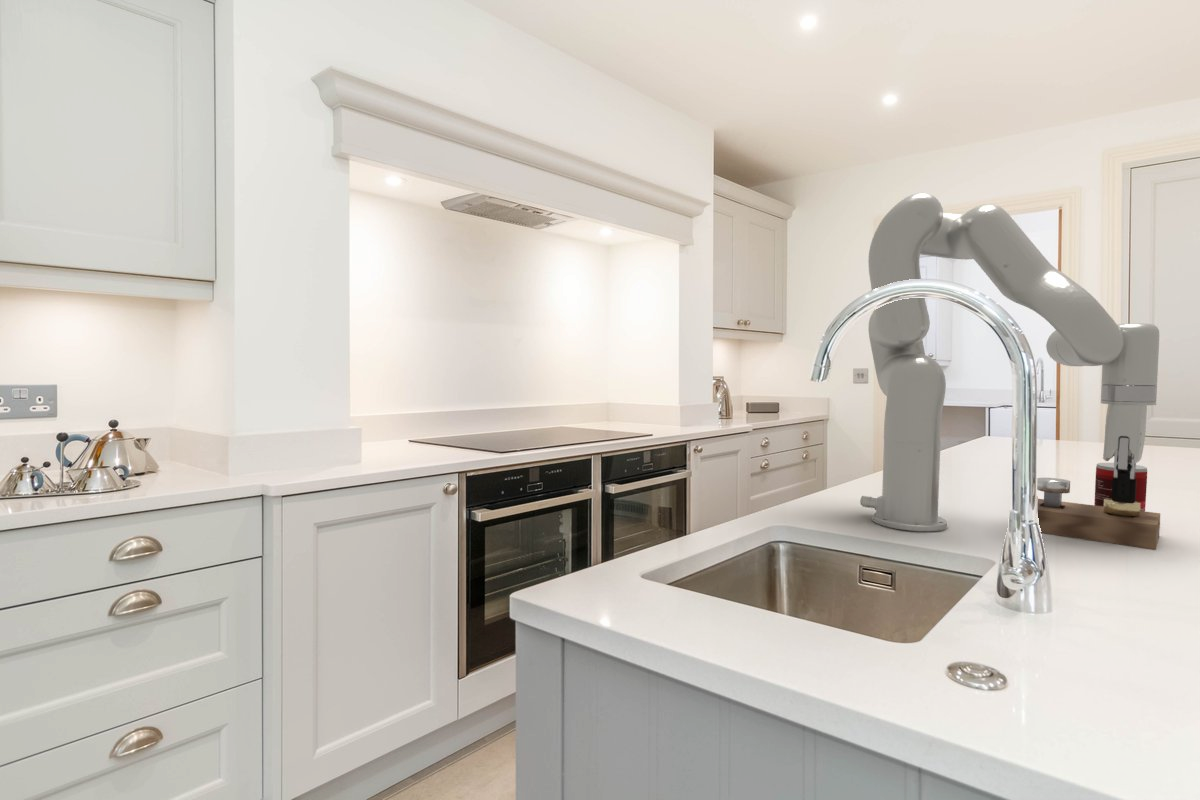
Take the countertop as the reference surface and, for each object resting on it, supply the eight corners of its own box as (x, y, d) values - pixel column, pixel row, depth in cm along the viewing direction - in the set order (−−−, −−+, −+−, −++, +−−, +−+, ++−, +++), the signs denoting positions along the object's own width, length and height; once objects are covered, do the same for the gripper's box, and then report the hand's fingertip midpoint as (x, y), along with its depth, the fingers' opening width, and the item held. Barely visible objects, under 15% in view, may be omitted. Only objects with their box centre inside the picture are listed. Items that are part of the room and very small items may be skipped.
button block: (1013, 528, 122) (1014, 506, 121) (1026, 517, 130) (1026, 497, 130) (1155, 549, 108) (1156, 525, 108) (1159, 535, 117) (1160, 513, 117)
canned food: (1141, 521, 128) (1144, 464, 127) (1147, 530, 121) (1150, 470, 121) (1091, 516, 132) (1094, 461, 132) (1095, 524, 125) (1098, 466, 125)
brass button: (1100, 535, 116) (1102, 501, 115) (1103, 530, 119) (1105, 497, 119) (1137, 540, 112) (1139, 505, 112) (1139, 535, 116) (1141, 501, 116)
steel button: (1033, 512, 122) (1035, 479, 122) (1038, 508, 126) (1040, 476, 126) (1066, 516, 119) (1068, 483, 119) (1070, 512, 123) (1072, 479, 122)
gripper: (1105, 393, 123) (1101, 492, 124) (1096, 396, 112) (1091, 505, 112) (1158, 395, 118) (1153, 498, 119) (1154, 398, 107) (1148, 511, 107)
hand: (1123, 501), depth 116 cm, fingers closed
